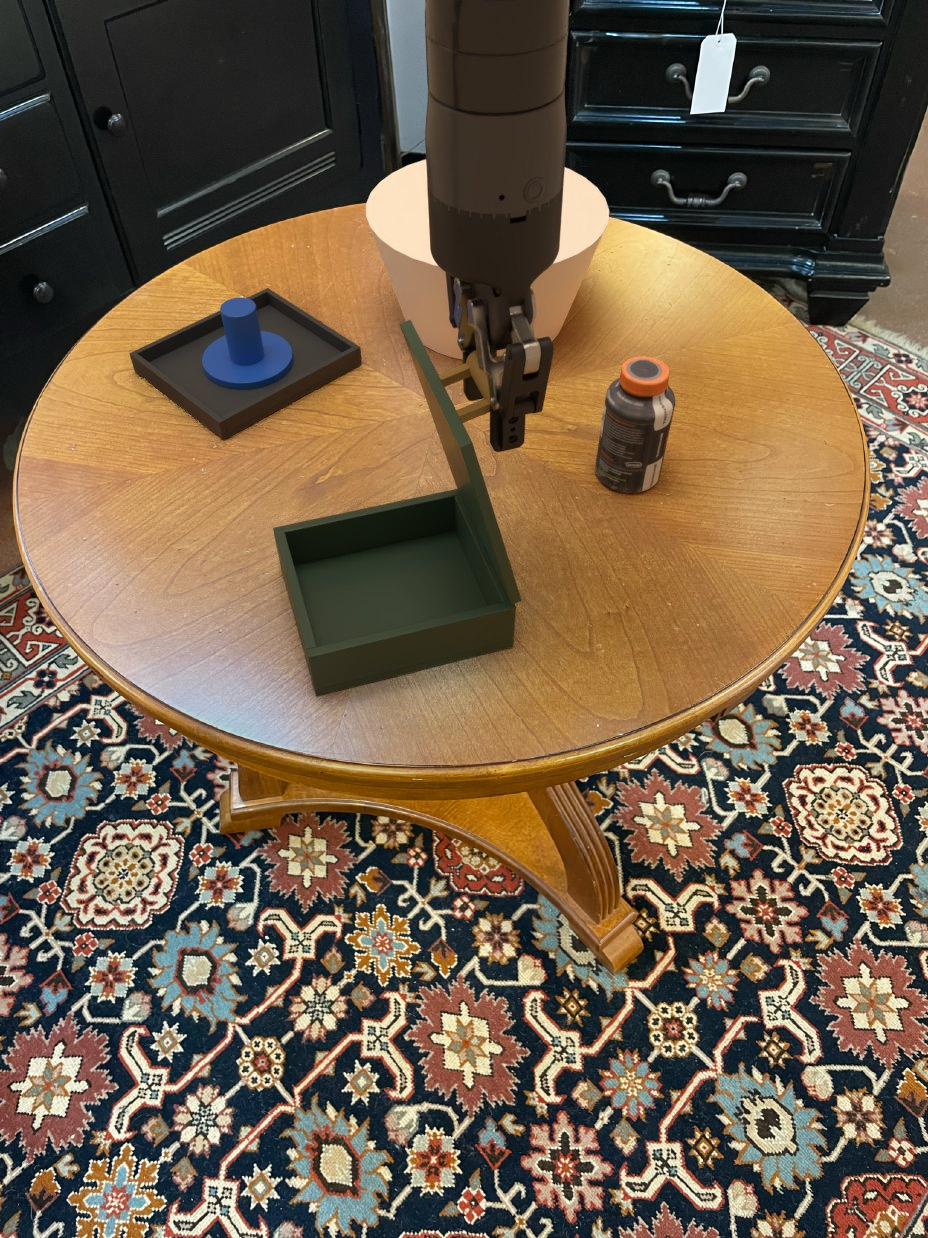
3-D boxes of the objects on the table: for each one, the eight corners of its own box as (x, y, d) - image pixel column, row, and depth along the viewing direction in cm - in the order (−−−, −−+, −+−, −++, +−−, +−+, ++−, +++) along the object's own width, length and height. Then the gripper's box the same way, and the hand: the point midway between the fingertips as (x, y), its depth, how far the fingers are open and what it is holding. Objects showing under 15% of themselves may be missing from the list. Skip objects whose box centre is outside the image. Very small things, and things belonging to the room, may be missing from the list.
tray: (223, 440, 90) (219, 422, 88) (134, 370, 96) (128, 352, 95) (362, 364, 97) (360, 346, 96) (270, 304, 104) (267, 287, 103)
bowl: (515, 237, 114) (520, 133, 105) (640, 336, 101) (659, 228, 92) (334, 293, 106) (323, 186, 97) (446, 410, 93) (445, 299, 84)
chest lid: (459, 447, 57) (534, 416, 57) (399, 323, 65) (464, 296, 65) (511, 605, 70) (572, 580, 70) (456, 485, 78) (510, 462, 78)
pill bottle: (671, 485, 86) (696, 381, 77) (613, 502, 85) (631, 397, 76) (639, 445, 90) (659, 341, 81) (583, 460, 88) (597, 356, 80)
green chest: (315, 696, 71) (308, 657, 67) (280, 568, 79) (272, 527, 75) (513, 647, 74) (516, 607, 70) (460, 528, 82) (460, 487, 79)
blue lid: (238, 401, 92) (227, 345, 88) (185, 361, 96) (171, 306, 92) (311, 362, 97) (304, 307, 92) (257, 326, 101) (247, 271, 96)
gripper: (394, 129, 56) (411, 371, 69) (470, 251, 47) (473, 502, 60) (515, 110, 57) (509, 351, 70) (611, 225, 49) (584, 476, 62)
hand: (493, 419), depth 65 cm, fingers closed on chest lid, 5 cm apart
